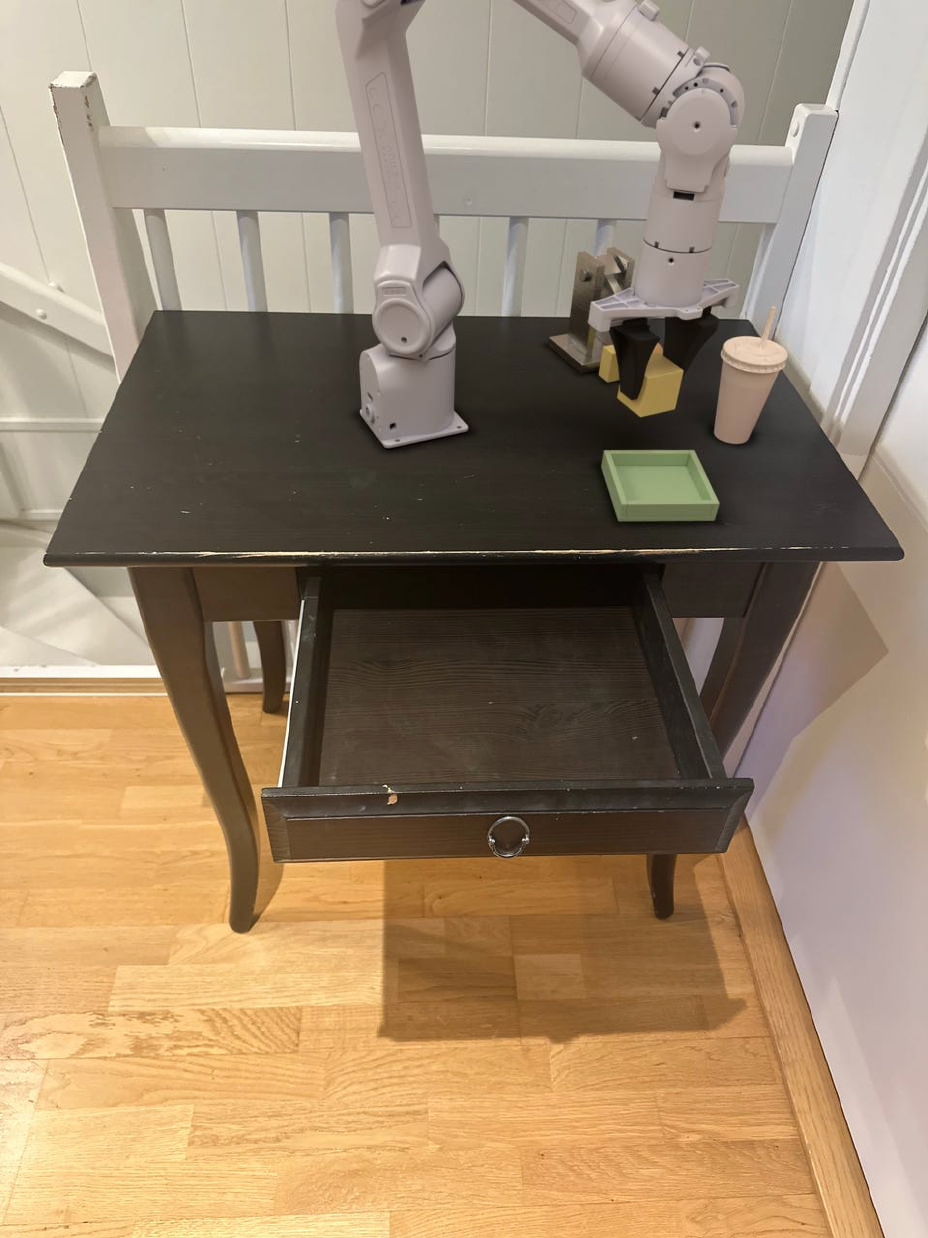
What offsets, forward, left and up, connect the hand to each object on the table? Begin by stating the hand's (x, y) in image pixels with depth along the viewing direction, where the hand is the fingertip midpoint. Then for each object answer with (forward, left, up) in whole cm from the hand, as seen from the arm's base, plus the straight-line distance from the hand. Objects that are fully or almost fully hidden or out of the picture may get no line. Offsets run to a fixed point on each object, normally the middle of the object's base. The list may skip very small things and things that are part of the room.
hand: (648, 390), depth 79 cm
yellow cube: (0, 0, -1) cm, 1 cm away
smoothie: (+13, +1, -9) cm, 16 cm away
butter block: (+9, +17, -8) cm, 21 cm away
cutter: (+9, +23, -8) cm, 26 cm away
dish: (-1, -5, -8) cm, 10 cm away
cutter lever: (+9, +18, -2) cm, 21 cm away
